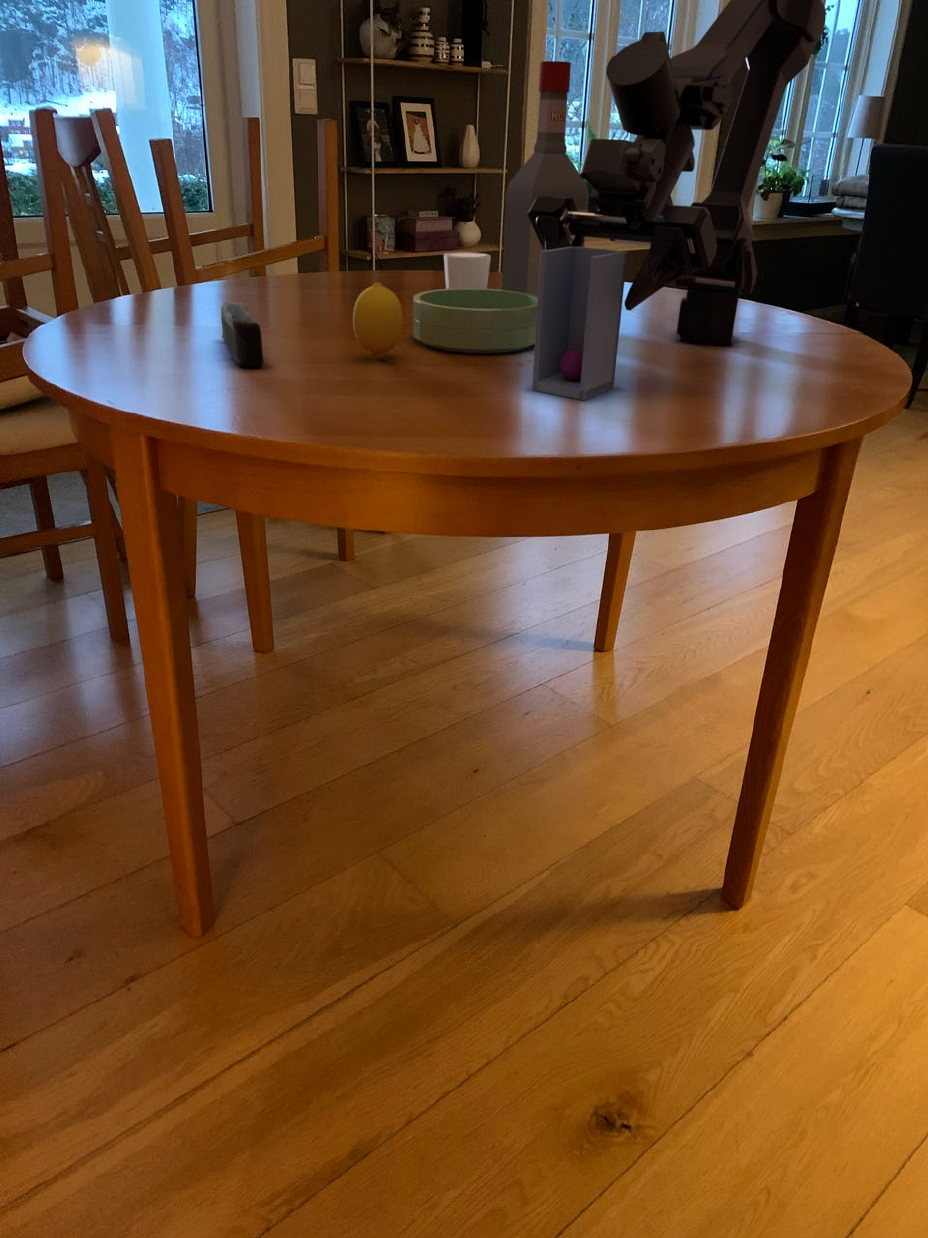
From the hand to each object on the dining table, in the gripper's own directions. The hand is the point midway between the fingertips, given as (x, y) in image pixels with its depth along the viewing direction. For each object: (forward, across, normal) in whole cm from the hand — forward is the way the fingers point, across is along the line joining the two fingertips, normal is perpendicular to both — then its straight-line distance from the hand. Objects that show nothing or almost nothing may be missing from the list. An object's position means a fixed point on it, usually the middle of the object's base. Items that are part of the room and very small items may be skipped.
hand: (584, 301), depth 87 cm
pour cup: (+6, 0, +5) cm, 8 cm away
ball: (+5, 0, +4) cm, 6 cm away
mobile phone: (+15, -36, -3) cm, 39 cm away
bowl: (-2, -21, +14) cm, 25 cm away
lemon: (+8, -24, +4) cm, 25 cm away
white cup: (-16, -37, +28) cm, 49 cm away
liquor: (-13, -21, +25) cm, 35 cm away
